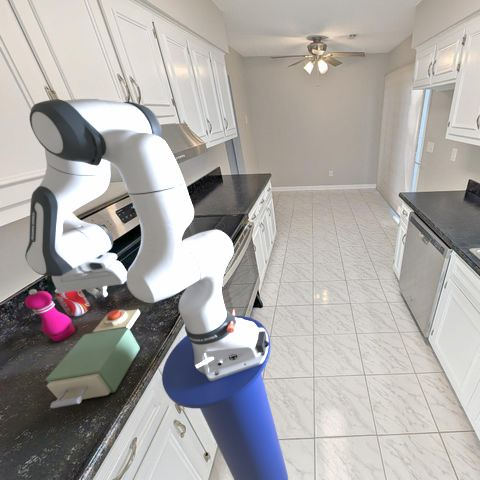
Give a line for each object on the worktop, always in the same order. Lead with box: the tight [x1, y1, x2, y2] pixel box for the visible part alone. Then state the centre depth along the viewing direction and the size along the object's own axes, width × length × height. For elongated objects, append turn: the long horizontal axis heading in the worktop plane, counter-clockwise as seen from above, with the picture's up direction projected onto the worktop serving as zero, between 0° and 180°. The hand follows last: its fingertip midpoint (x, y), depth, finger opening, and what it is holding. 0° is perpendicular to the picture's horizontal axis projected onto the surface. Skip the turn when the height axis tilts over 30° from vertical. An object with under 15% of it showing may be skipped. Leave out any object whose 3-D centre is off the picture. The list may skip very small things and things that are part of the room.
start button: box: [106, 309, 121, 320], centre depth 91 cm, size 4×4×2 cm
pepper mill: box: [24, 288, 76, 342], centre depth 86 cm, size 7×7×20 cm
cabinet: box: [45, 328, 141, 394], centre depth 74 cm, size 15×13×9 cm
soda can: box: [54, 288, 91, 318], centre depth 98 cm, size 7×7×12 cm
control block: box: [92, 308, 141, 333], centre depth 93 cm, size 11×9×4 cm
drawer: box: [46, 373, 111, 409], centre depth 70 cm, size 18×12×7 cm, turn 9°
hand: (102, 296), depth 87 cm, fingers closed
